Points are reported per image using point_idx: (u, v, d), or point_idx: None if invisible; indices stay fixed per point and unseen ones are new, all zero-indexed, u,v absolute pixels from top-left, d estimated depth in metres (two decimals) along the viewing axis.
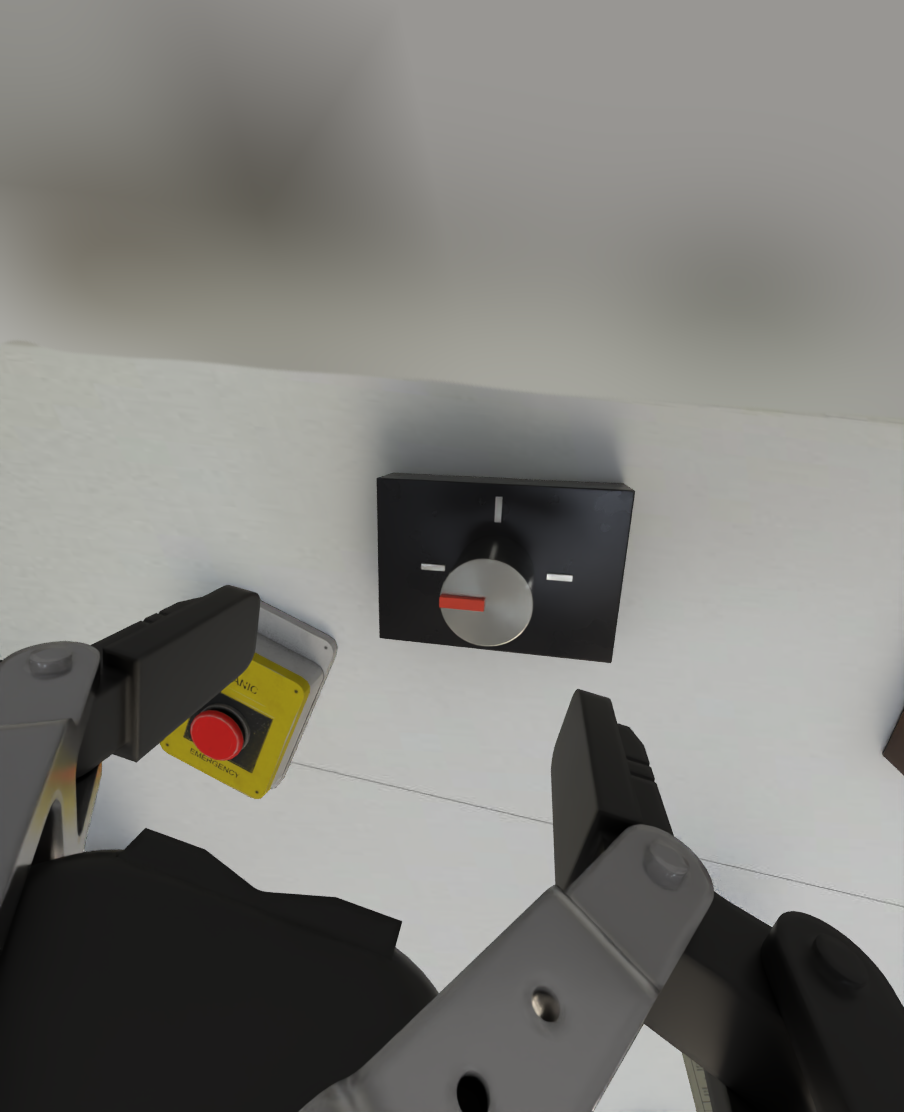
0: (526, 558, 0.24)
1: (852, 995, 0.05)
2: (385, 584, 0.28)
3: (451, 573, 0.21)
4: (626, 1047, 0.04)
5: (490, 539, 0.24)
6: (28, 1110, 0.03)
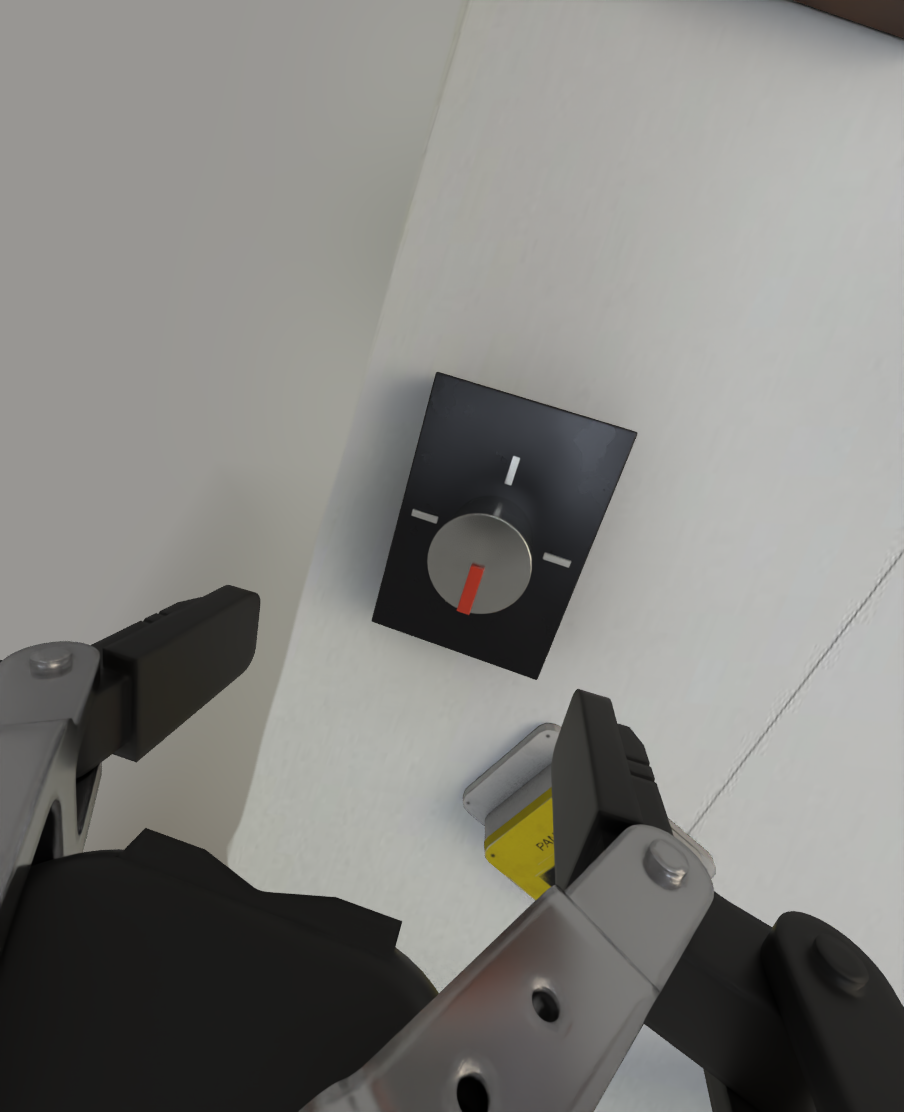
0: (470, 503, 0.22)
1: (852, 995, 0.05)
2: (477, 652, 0.26)
3: (437, 589, 0.20)
4: (626, 1047, 0.04)
5: None
6: (28, 1110, 0.03)
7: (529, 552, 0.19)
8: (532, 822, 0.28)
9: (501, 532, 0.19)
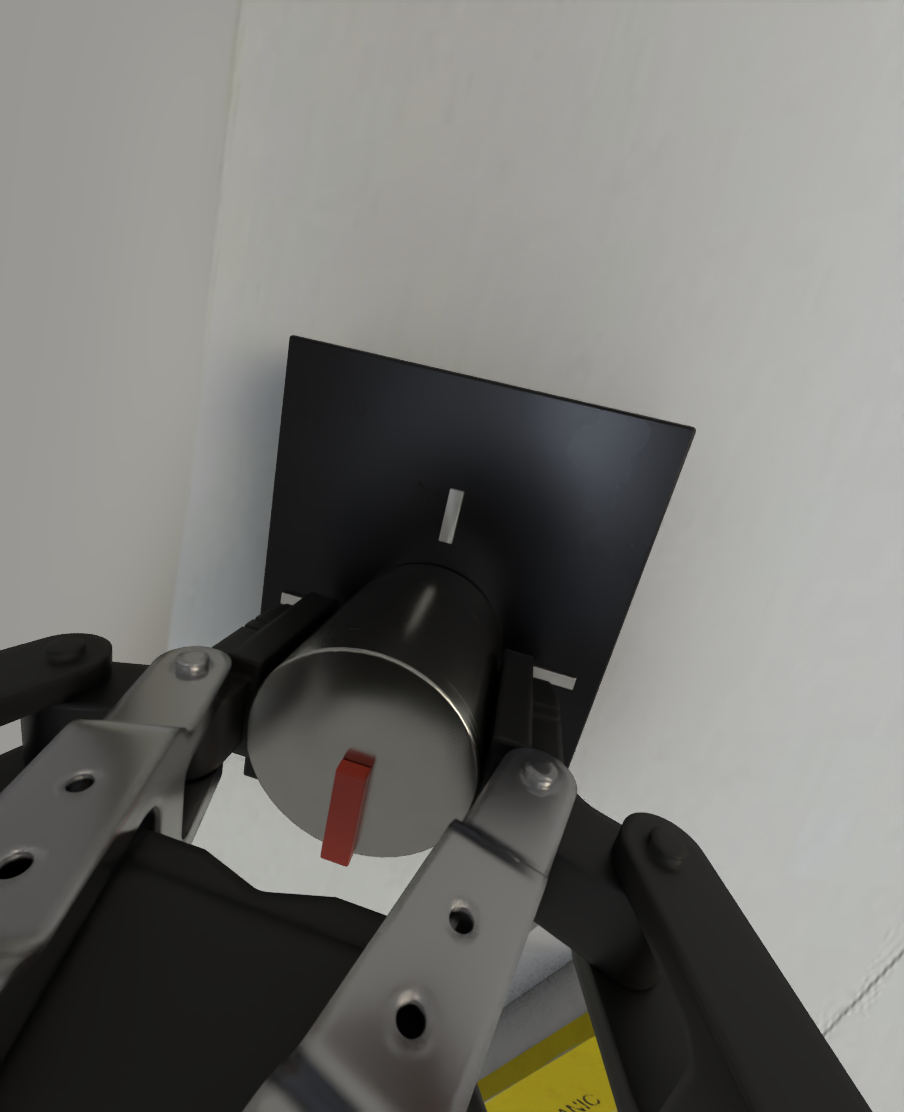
0: (367, 588, 0.11)
1: (671, 868, 0.06)
2: None
3: (278, 806, 0.09)
4: (529, 929, 0.05)
5: None
6: (28, 1110, 0.03)
7: (470, 733, 0.08)
8: (539, 1084, 0.17)
9: (399, 690, 0.08)
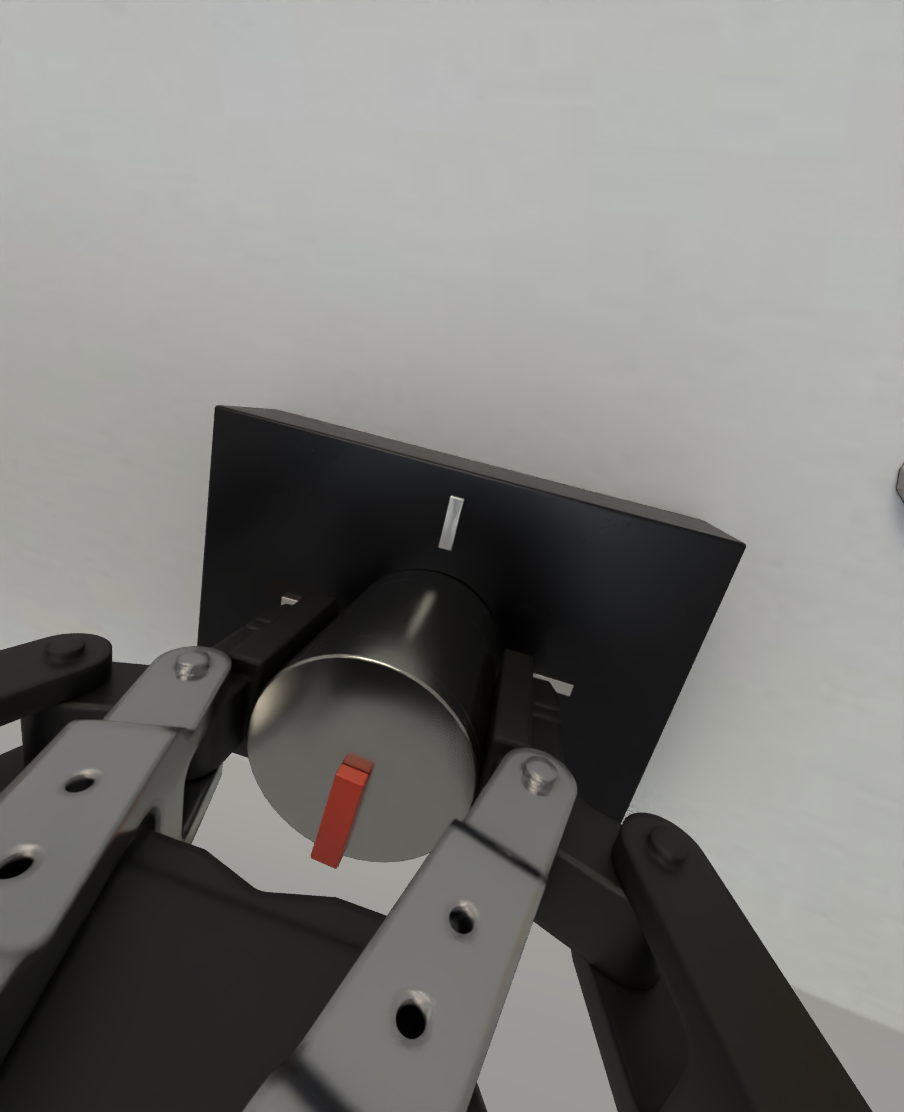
0: (374, 591, 0.11)
1: (671, 868, 0.06)
2: (672, 669, 0.12)
3: (272, 803, 0.09)
4: (529, 929, 0.05)
5: None
6: (28, 1110, 0.03)
7: (472, 749, 0.08)
8: None
9: (406, 702, 0.08)
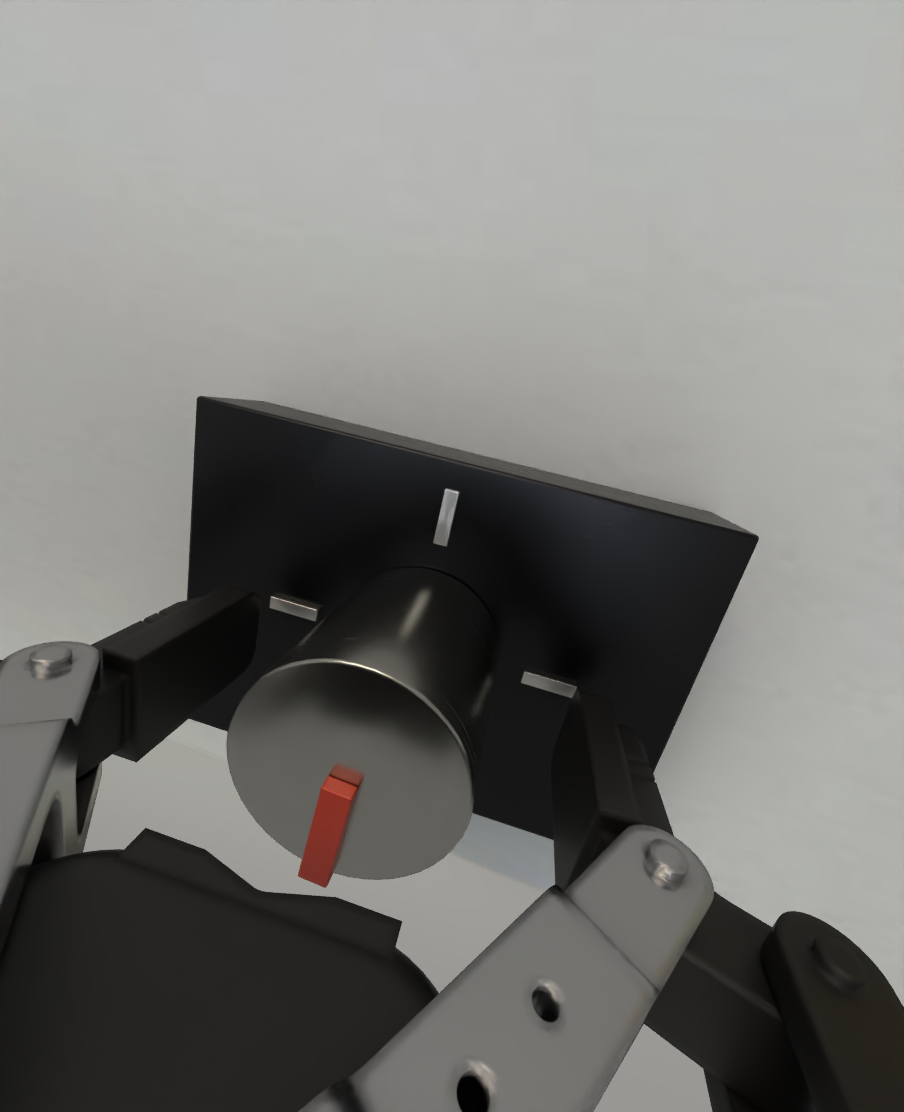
0: (364, 590, 0.11)
1: (852, 995, 0.05)
2: (680, 669, 0.11)
3: (256, 819, 0.08)
4: (626, 1047, 0.04)
5: None
6: (28, 1109, 0.03)
7: (467, 758, 0.07)
8: None
9: (394, 709, 0.07)
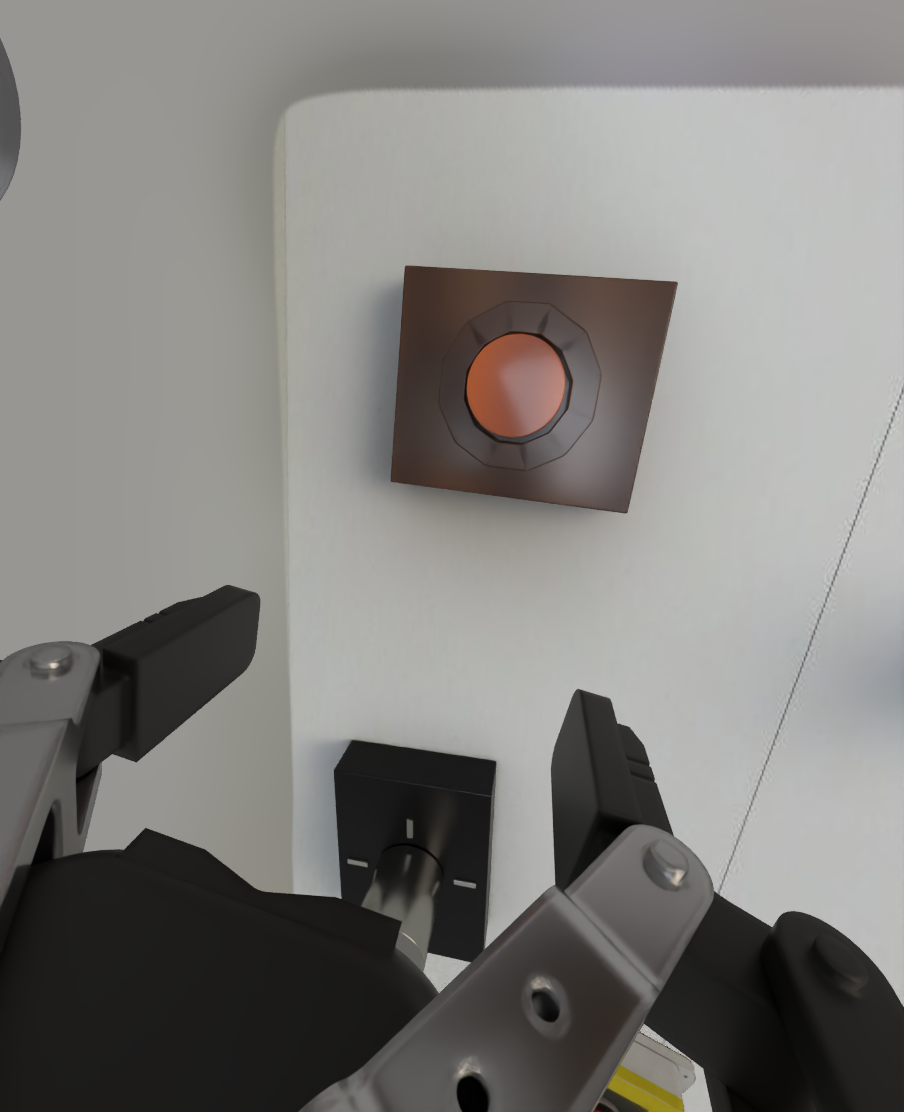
0: (432, 885, 0.28)
1: (852, 995, 0.05)
2: (430, 948, 0.32)
3: None
4: (626, 1048, 0.04)
5: (403, 862, 0.28)
6: (28, 1110, 0.03)
7: None
8: None
9: None
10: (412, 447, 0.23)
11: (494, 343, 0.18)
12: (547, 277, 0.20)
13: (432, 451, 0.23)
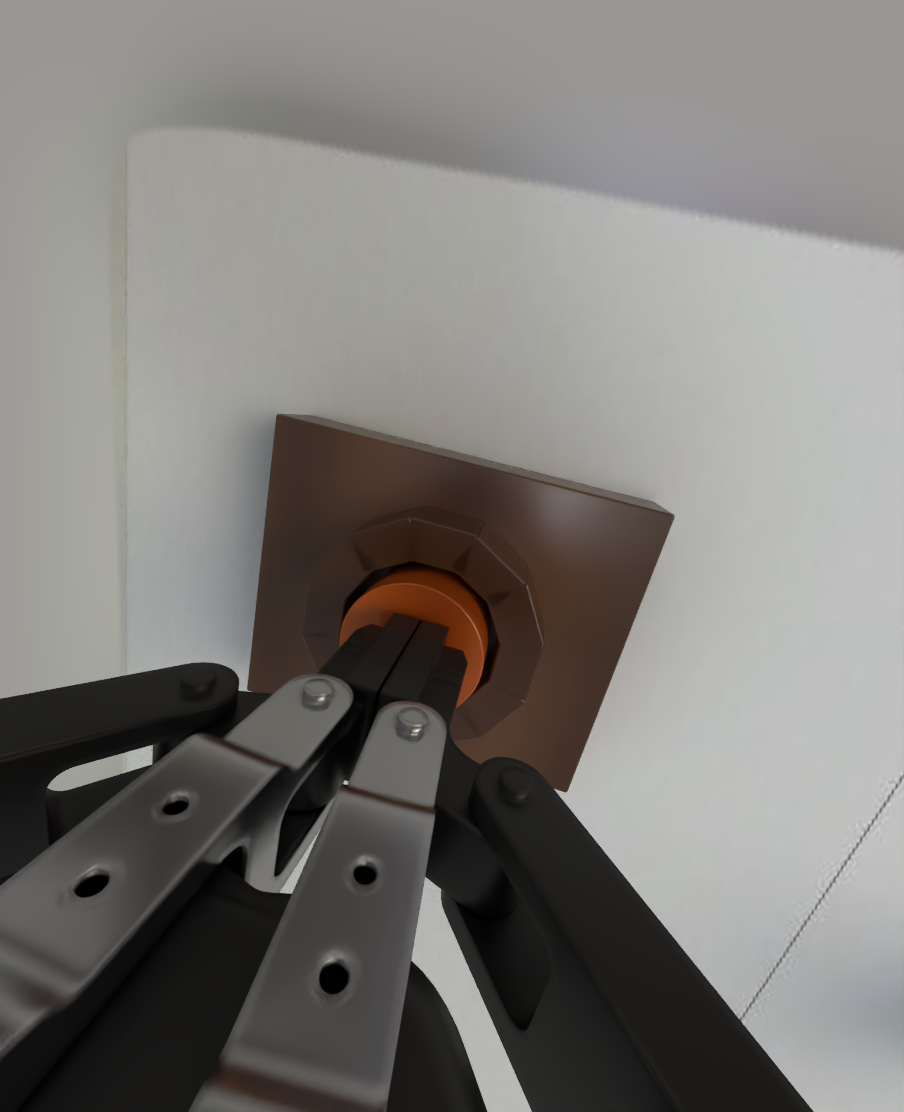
0: None
1: (512, 801, 0.07)
2: None
3: None
4: (427, 858, 0.05)
5: None
6: (28, 1110, 0.03)
7: None
8: None
9: None
10: (278, 654, 0.16)
11: (382, 591, 0.12)
12: (483, 472, 0.13)
13: (305, 665, 0.16)
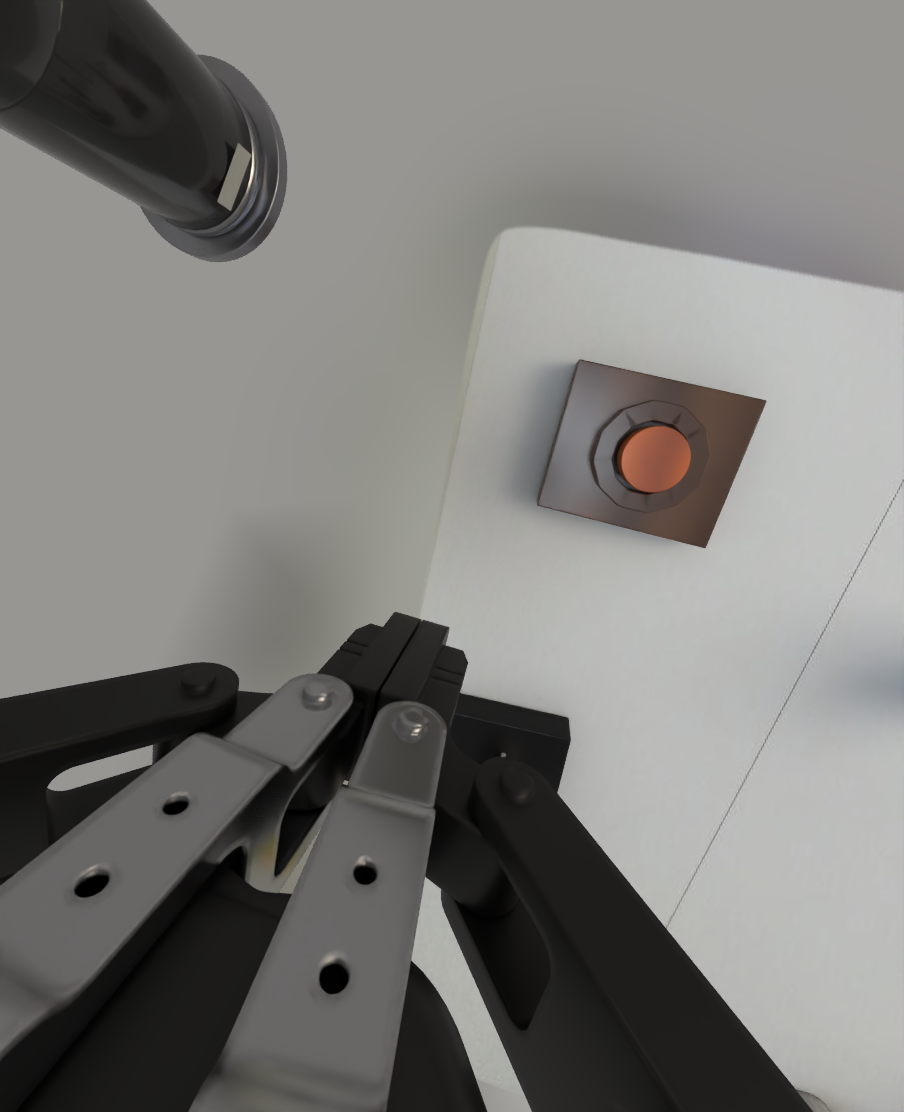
0: None
1: (512, 801, 0.07)
2: None
3: None
4: (427, 858, 0.05)
5: None
6: (28, 1109, 0.03)
7: None
8: None
9: None
10: (559, 483, 0.33)
11: (647, 430, 0.28)
12: (679, 383, 0.30)
13: (573, 488, 0.32)
